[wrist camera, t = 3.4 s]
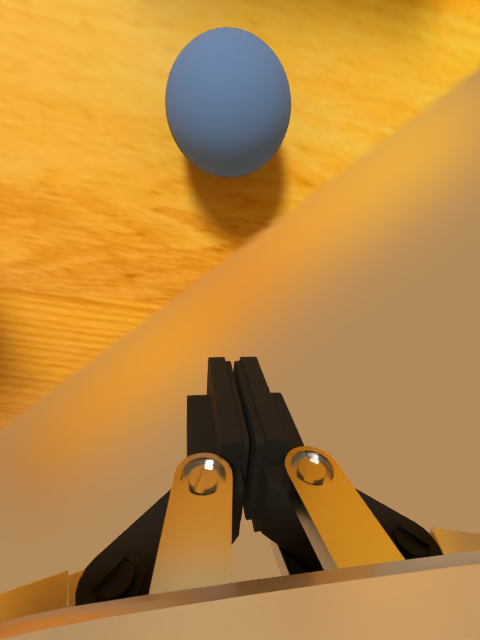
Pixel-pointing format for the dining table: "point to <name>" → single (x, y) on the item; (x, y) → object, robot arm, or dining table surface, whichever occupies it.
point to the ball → (228, 102)
